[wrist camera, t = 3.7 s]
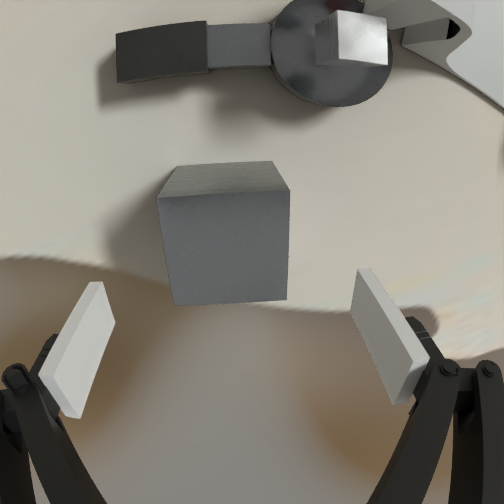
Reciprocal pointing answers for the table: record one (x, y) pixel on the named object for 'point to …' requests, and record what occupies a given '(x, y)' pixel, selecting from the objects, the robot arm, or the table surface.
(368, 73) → the ratchet
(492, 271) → the table surface
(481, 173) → the table surface
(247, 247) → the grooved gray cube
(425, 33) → the skate ramp
